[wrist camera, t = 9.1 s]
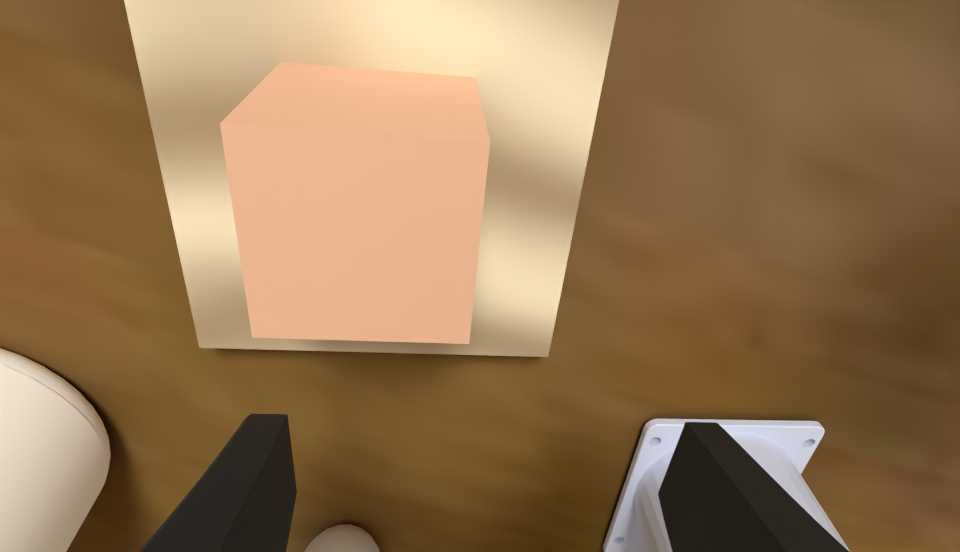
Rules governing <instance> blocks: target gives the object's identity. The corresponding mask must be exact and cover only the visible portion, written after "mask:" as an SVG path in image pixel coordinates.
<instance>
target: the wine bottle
mask: <svg viewBox="0 0 960 552" xmlns="http://www.w3.org/2000/svg"><path fill="white" fill-rule="evenodd" d="M110 457H111V453H110V444H109V437H108V434H107V432H106V429H105V427H104V424H103V422H102V420H101V418H100V417H99V415H98V414H97V412H96V411H95V409H94V408H93V406H92V405H91V404H90V403H89V402H88V401H87V400H86V399H85V397H84V396H83V395H82V394H81V393H80V392H79V391H78V390H77V389H75V388H74V387H73V386H72V385H70V384H69V383H68V382H67V381H65V380H64V379H63V378H61V377H60V376H58V375H57V374H55V373H54V372H52V371H50V370H49V369H47V368H46V367H44V366H42V365H40V364H38V363H36V362H34V361H32V360H30V359H28V358H25V357H23V356H21V355H19V354H16V353H13V352H10V351H7V350H5V349H2V348H0V552H66V551H67V549H68V548H69V546H70V544H71V542H72V541H73V539H74V537H75V535H76V534H77V532H78V530H79V528H80V527H81V525H82V523H83V521H84V520H85V518H86V516H87V514H88V513H89V511H90V509H91V507H92V506H93V504H94V502H95V500H96V499H97V497H98V495H99V493H100V492H101V490H102V488H103V486H104V484H105V482H106V477H107V474H108V469H109V463H110Z"/></svg>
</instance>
